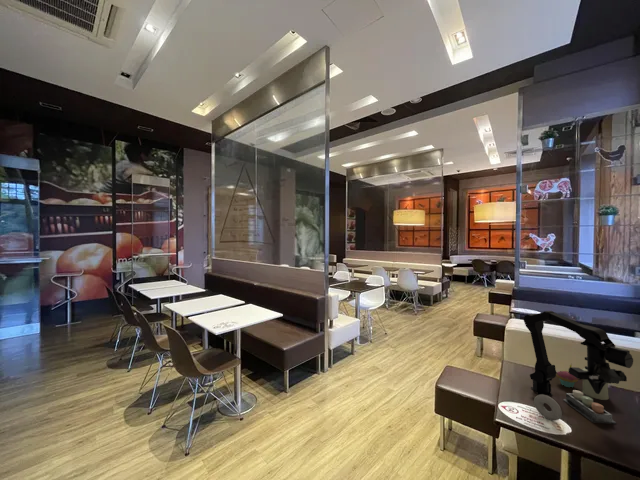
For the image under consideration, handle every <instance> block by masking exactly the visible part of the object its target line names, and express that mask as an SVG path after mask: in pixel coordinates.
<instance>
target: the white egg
mask: <svg viewBox="0 0 640 480" xmlns="http://www.w3.org/2000/svg"><path fill="white" fill-rule="evenodd" d="M572 393H573V397H574V398H575V399H580V400H582V396H584V393H583V391H580V390H576V389H573V390H572Z"/></svg>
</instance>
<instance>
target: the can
mask: <svg viewBox="0 0 640 480" xmlns="http://www.w3.org/2000/svg"><path fill="white" fill-rule="evenodd" d="M581 369H582V370H584V371H588V370H587V369H585V367H583V368H581ZM581 392H582V393H583V394H584V395H585V396H587V397H590V398H592V399H597V400H602V401H607V400H609V398H610V397H609V383H606V384H605V385H604V386H603V388H602V390H601V392H600V394H596V393H595V391H594V390H593V388H592V386H591V384H590V383H589V381H588V380H584V379H582V391H581Z"/></svg>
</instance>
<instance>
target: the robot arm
mask: <svg viewBox="0 0 640 480" xmlns="http://www.w3.org/2000/svg"><path fill="white" fill-rule="evenodd" d="M546 321H550V322H552V323H554V324H557V325H559V326H561V327H563V328H565V329H568V330H570V331H572V332H573V333H576V334H577V335H578V336H579V337H580V338H582V339H583V341H581V342H580V345H583V346H586V356H585V357H584V360H585V361H586V362H587V363H586V366H585V365H584V368H585V369H587V370H588V371H584V370H582V368H580V367H574V366H573V367H570V366H569V368H568V372H569V373H570V374H571V375H573V376H575V377H576V378H578V380H583V379H584V380H588V381H589V383H590V384H591V386H592V388H593V390H594V391H595V393H596V394H600V392H601V390H602V388H603V386H604V385H605V384H606V383H608V384H617V385H618V384H620V382H627V381H628V380H627V379H628V377H627V375H626V373H625V372H624V371H622V370H620V369H619V370H617V369H615V368H611V367H610V363H611V364H614V365H618V366H620V367H624V368H626V369H631V367H633V364H634V358H633V355H632V354H631V353H630V350H629V349H623V348H618V347H617V346H616V344H615V343H614V342H613V341H612V339H610V337H609V336H608V334H607V331H605V330H604V329H602V328H599V327H595V326H593V325H587V324H582V323H580V322H577V321H575V320H572V319H570V318H568V317H565V316H563V315H561V314H558V313H557V312H554V311H552V310H546V311H545V310H544V311H542V312H540V313H531V314H526V315H524V316H523V322H524V325H525V327H526V328H527V329H528V331H529V333H530V337H531V341H532V345H533V346H532V347H533V349H534V355H535V359H536V361H535V364H534V371H533V372H532V373H530V374H529V378H530V380H532V386H530V389H531V390H533V391H534V392H535V393H537V395H540V394H543V395H547V396H553V395H554V394H553V393H552V383H551V381H552V380H553V379H555V378H556V377H557V376H556V374H557V372H558V371H557V370H556V365H555V364H552V363H551V362H550V361H549V357H548V353H547V348H546V344H545V339H544V336H543V329H544V327H545V323H544V322H546Z"/></svg>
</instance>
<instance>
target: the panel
mask: <svg viewBox="0 0 640 480" xmlns="http://www.w3.org/2000/svg"><path fill="white" fill-rule="evenodd" d="M562 401H563V402H564V403H565V404H566V405H568V406H570V407H571V408H572V409H574V410H575V411H577V412H578V413H579V414H580V415H582V416H583V417H584V418H586V419H587V420H589V422H591V423H594V424H608V425H609V424H610V425H617V422H616V421H615V420H614V419H613V414H612V413H610V412H608V411H606V409H604V413H596V412H594V411H593V410H592V406H585V405H584V404H583V403H582V400H580V399H575V398H574V397H573V392H572V393H570V392H568V393H567V392H565V398H562Z"/></svg>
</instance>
